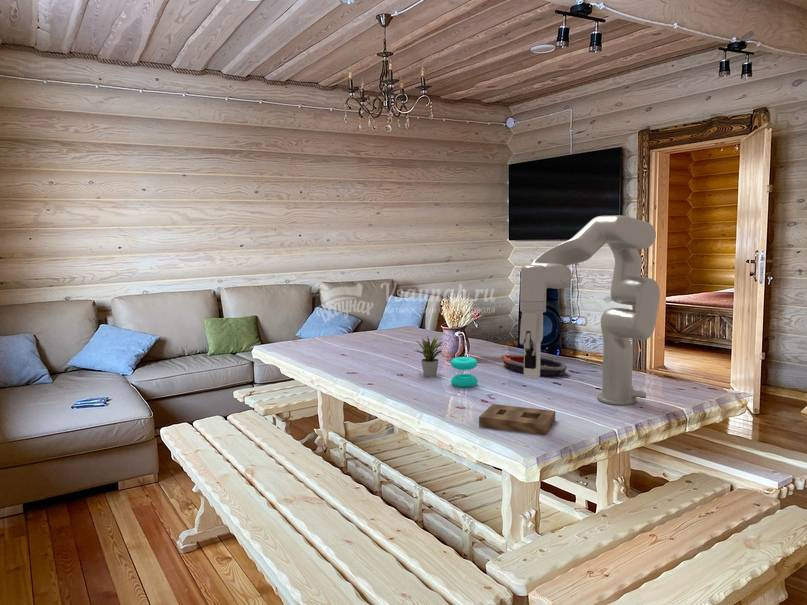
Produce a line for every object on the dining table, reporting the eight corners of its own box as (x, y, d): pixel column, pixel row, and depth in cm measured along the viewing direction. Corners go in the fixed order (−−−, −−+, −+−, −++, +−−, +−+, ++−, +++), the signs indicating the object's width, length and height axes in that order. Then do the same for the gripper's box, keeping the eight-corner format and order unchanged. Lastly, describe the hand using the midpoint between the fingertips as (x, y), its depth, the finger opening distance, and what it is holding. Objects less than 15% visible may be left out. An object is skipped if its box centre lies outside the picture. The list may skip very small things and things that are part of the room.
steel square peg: (540, 375, 182) (540, 340, 181) (536, 378, 179) (537, 342, 177) (526, 374, 184) (527, 339, 183) (523, 377, 180) (524, 341, 179)
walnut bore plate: (555, 420, 185) (555, 410, 185) (545, 435, 173) (545, 425, 172) (492, 412, 194) (492, 403, 194) (479, 426, 181) (478, 416, 181)
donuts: (481, 360, 223) (455, 362, 221) (481, 387, 225) (456, 389, 222) (471, 355, 233) (447, 357, 231) (472, 380, 234) (447, 382, 232)
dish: (552, 381, 232) (552, 368, 231) (492, 367, 255) (492, 356, 254) (575, 374, 241) (576, 362, 241) (515, 361, 265) (515, 350, 264)
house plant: (445, 380, 235) (445, 339, 232) (411, 379, 237) (410, 339, 235) (450, 371, 248) (449, 333, 246) (417, 370, 251) (416, 332, 249)
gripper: (527, 302, 188) (526, 360, 190) (513, 309, 173) (512, 371, 175) (551, 303, 184) (550, 362, 187) (539, 310, 170) (537, 374, 172)
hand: (532, 366), depth 181 cm, fingers closed on steel square peg, 4 cm apart
